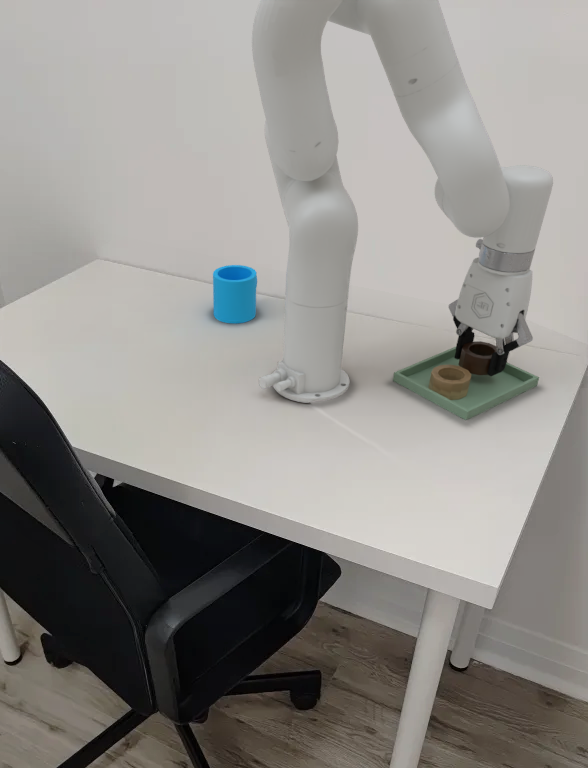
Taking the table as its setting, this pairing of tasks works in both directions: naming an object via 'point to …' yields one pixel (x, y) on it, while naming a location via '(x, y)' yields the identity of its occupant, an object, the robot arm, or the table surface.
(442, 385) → the birch ring
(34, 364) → the table surface
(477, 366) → the walnut ring
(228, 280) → the mug
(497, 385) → the tray
